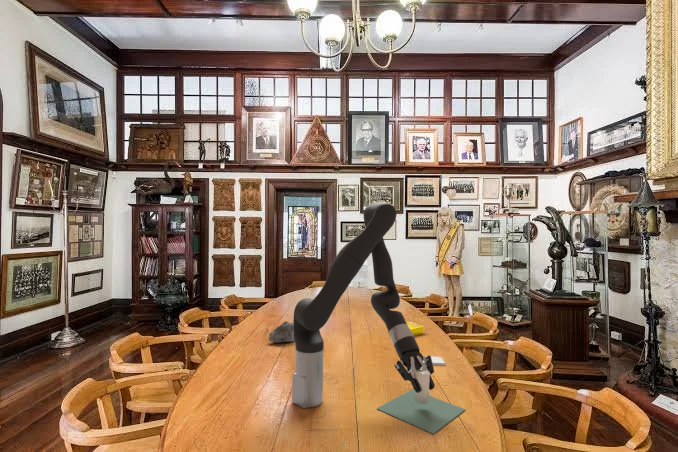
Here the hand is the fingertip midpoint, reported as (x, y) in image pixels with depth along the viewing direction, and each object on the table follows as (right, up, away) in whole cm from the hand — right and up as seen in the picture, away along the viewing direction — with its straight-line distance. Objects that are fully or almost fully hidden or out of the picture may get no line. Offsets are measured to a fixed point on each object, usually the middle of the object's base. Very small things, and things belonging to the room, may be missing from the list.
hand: (425, 390), depth 117 cm
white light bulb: (-1, -4, +2) cm, 4 cm away
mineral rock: (-55, -6, +69) cm, 88 cm away
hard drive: (+12, -8, +45) cm, 47 cm away
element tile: (+10, -8, +90) cm, 91 cm away
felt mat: (-1, -7, +2) cm, 7 cm away
